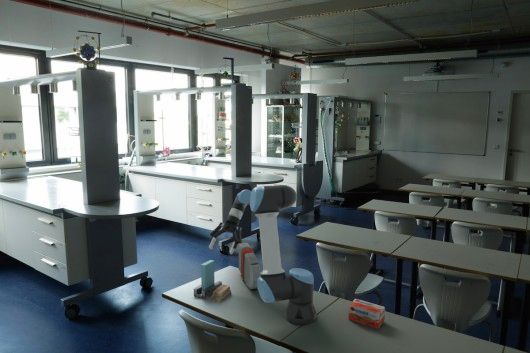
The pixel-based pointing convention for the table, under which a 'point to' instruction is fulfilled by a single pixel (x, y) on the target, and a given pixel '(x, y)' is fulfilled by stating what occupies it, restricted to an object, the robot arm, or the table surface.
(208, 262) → the teal board
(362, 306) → the medicine box
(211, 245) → the robot arm
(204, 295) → the board rack
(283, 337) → the table surface
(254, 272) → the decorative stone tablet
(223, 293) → the block
